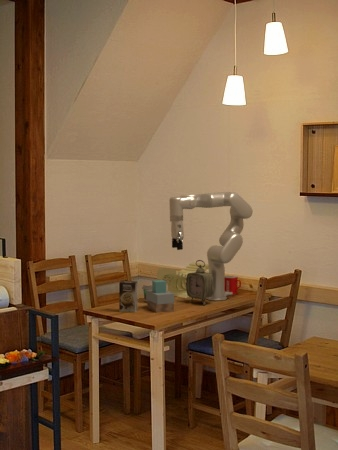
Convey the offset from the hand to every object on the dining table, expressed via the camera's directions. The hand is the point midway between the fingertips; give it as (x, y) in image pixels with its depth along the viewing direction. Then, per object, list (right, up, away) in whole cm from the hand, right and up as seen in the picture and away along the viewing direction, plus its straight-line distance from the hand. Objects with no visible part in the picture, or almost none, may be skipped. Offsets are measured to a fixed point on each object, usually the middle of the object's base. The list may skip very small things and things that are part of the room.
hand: (177, 248), depth 377 cm
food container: (-13, -31, +5) cm, 35 cm away
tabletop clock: (+13, -32, +2) cm, 34 cm away
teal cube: (-10, -23, -14) cm, 29 cm away
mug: (+34, -29, +29) cm, 54 cm away
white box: (-10, -28, -14) cm, 33 cm away
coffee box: (-27, -33, -18) cm, 46 cm away
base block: (-10, -33, -13) cm, 37 cm away
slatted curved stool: (+4, -29, +28) cm, 41 cm away
